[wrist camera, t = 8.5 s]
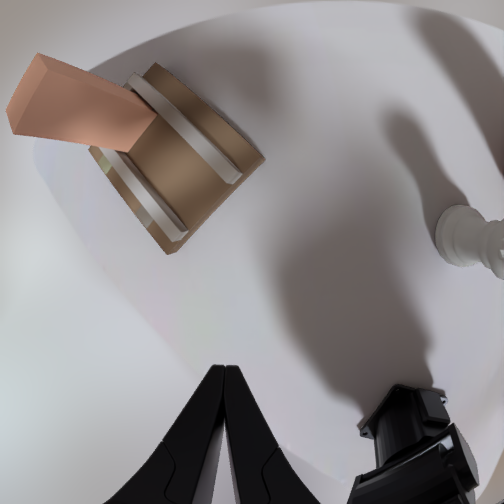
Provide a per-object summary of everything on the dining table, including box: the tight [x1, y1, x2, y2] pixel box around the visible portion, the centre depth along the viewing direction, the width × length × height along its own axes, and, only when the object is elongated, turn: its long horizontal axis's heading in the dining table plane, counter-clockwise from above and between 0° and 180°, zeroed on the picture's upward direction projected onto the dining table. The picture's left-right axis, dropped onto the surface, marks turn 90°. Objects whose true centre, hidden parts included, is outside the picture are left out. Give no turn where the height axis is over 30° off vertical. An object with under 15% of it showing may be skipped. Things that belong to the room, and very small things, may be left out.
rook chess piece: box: [435, 205, 504, 280], centre depth 13 cm, size 4×4×8 cm
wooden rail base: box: [88, 62, 266, 255], centre depth 20 cm, size 13×10×3 cm
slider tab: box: [6, 53, 158, 152], centre depth 14 cm, size 3×4×11 cm
